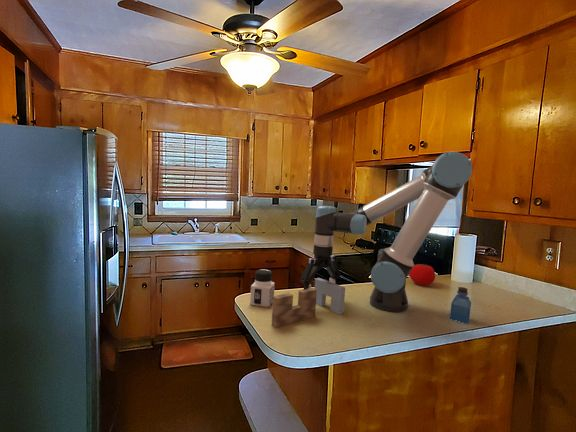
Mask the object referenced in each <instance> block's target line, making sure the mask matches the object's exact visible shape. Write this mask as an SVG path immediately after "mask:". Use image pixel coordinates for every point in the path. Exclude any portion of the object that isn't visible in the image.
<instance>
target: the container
mask: <svg viewBox="0 0 576 432" xmlns="http://www.w3.org/2000/svg"><path fill="white" fill-rule="evenodd" d="M272 275H273V272H272V271H271V270H268V269H263V268H262V269H258V270H256V271H255V272H254V282H253V283H252V284H251V285H250V303H249V304H250V305H251V306H256V307H257V306H258V307H264V308H265V307H267V308H269V307H270V306H271V305H272V304H273V296H275V282H274V281H272V278H273V276H272Z"/></svg>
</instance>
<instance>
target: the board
mask: <svg viewBox="0 0 576 432" xmlns="http://www.w3.org/2000/svg"><path fill="white" fill-rule="evenodd" d="M316 296H317V289H314V287H311V288H309V289H305V290H304V289H300V290H298V297H297V304H296V305H293V303H294V300H293V299H294V294H291V293H289V292H287V293H282V294H279V295H274V296H273V302H272V309H271V311H272V312H271V313H272V314H271V326H272V327H274V328H279V327H283V326H286V325H289V324H293V323H296V322H297V323H298V322H300V321H304V320H307V319H310V318H314V317H316V310H317V309H316V308H317V307H316V306H317V304H316Z"/></svg>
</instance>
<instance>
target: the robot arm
mask: <svg viewBox="0 0 576 432" xmlns="http://www.w3.org/2000/svg"><path fill="white" fill-rule="evenodd" d="M472 175H473V165H472V162H471V160H470V159H469V158H468V156H467V155H466V154H463V153H461V152H457V151H448V152H444V153H441V154H440V155H439V156H438V157H436V159H435V161H433V164H431V166H429V167H427V168H425V169H424V170H422V171H421V173H420V175H419V176H417V177H415V178H414V179H411V180H409V181H407V182H406V183H404V184H402V185H400V186H398V187H397V188H394V189H393V190H390V191H389V192H387V193H386V194H384V195H382V196H380V197H379V198H376V199H375V200H372V201H371V202H369V203H367V204H366V205H363V206H362V207H360V208H357V210H354V211H352V212H338V211H336V207H335V206H330V205H329V206H328V205H318V206H317V208H316V213H315V224H314V239H313V243H314V245H313V256H314V257H313V258H310V257H308V258H307V261H306V262H307V263H306V265H305V268H304V270H303V273H302V274H301V277H300V279H299V282H300V283H303V290H305V289H309V288H312V284H311V282H312V281H313V279H314V277H315V275H316V274H317V273H318V271H320V270H322V269H326V271H327V273H328V274H329V276H330V277H329V280H328V281H329V282H332V283H334V284H337V280H339V277H341V272H340V269H339V266H338V262H337V256H336V255H334V254H333V249H334V247H333V245H334V236H335V232H336V233H338V232H339V233H344V234H353V235H364V234H365V232H366V230H367V226H369V225H371V224H372V223H374V222H376V221H378V220H380V219H382V218H384V217H385V216H388V215H389V214H391V213H394V212H396V211H397V210H399V209H401V208H403V207H405V206H407V205H410V204H411V203H413V202H415V201H417V202H416V203H415V205H414V206H413V208H412V210H411V212H410V213H409V215H408V216H407V218H406V219H405V222H404V223H403V226H402V227H401V228H400V230H399V232H398V234H397V235H396V237H395V239H394V241H393V242H392V244H391V246H389V247H385V248H380V249H379V250H378V254H377V261H376V263H375V264H374V265H373V266H372V267H371V271H370V279H371V282H372V285H373V286H374V287H373V290H372V292H371V294H370V297H369V304H370V305H371V306H372V307H373V308H376V309H378V310H380V311H381V310H382V311H386V312H390V313H391V312H392V313H402V312H406V311H407V310H408V309H409V300H408V299H409V298H408V296H407V291H406V283H407V278H408V277H409V273H410V271H411V269H412V268H413V266H414V265H415V263H414V261H413V259H414V257H415V256H416V255H417V253H418V251H419V249H420V248H421V246H422V244H423V242H424V241H425V239H426V238H427V236H428V235H429V233H430V231H431V230H432V228H433V226H434V225H435V223H436V222H437V220H438V219H439V216H441V213H442V212H443V210H444V208H445V207H446V205H447V204H448V202H449V201H450V200H454V199H456V198H457V197H458V195H459V193H460V192H461V190H462V189H463V187H464V185H465V184H467V182H468V181H469V180H470V178H471V177H472Z"/></svg>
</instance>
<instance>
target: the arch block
mask: <svg viewBox="0 0 576 432" xmlns="http://www.w3.org/2000/svg"><path fill="white" fill-rule="evenodd" d="M313 288H314V289H317V296H316V306H317V305H318V306H320V307H323V306H326V304H327V303H326V302H327V297H329V298H331V300H330V312H333V313H335V314H337V315H342V314H344V310H345V299H346V298H345V296H346V287H344V286H342V285H340V284H337V283H336V284H334V283H332V282H329V280H327V279H323V278H320V277H317V278H315V279H314V286H313Z"/></svg>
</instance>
